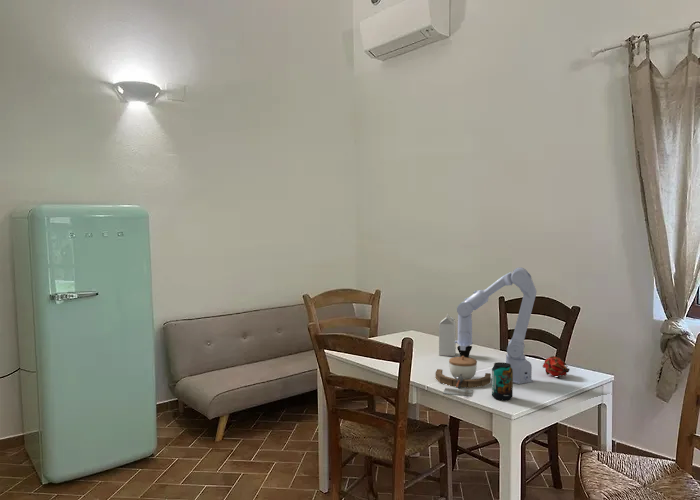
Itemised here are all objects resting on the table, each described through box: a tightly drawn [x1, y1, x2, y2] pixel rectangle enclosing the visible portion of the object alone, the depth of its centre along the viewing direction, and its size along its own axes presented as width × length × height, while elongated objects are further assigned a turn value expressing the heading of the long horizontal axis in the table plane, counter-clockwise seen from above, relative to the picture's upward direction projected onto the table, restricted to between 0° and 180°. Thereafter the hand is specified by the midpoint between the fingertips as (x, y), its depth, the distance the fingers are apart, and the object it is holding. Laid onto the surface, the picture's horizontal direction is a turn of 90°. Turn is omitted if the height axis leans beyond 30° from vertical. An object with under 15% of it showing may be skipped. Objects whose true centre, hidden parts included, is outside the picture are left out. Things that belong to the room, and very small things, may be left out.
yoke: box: [434, 368, 492, 397], centre depth 199 cm, size 23×21×2 cm
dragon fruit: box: [542, 355, 571, 377], centre depth 210 cm, size 8×8×12 cm
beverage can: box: [491, 361, 513, 401], centre depth 184 cm, size 7×7×12 cm
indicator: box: [456, 374, 463, 388], centre depth 194 cm, size 15×2×2 cm, turn 162°
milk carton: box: [438, 313, 457, 357], centre depth 246 cm, size 7×7×19 cm
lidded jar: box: [448, 356, 478, 380], centre depth 206 cm, size 11×11×9 cm
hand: (464, 364), depth 213 cm, fingers closed
